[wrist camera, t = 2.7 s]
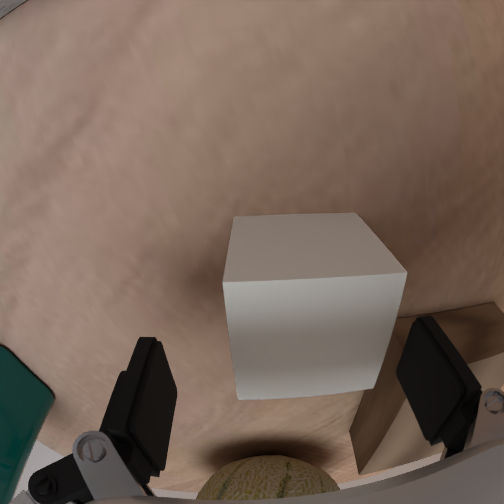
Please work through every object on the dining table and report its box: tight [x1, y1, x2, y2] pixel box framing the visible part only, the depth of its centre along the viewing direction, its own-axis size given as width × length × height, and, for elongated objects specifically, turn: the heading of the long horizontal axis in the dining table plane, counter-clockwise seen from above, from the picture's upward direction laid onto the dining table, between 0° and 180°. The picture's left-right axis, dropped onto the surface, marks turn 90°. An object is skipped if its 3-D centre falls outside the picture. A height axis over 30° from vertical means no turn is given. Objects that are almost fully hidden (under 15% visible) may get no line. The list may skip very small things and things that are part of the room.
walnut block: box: [349, 302, 504, 475], centre depth 18 cm, size 10×14×5 cm
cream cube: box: [223, 213, 408, 400], centre depth 13 cm, size 6×6×6 cm
